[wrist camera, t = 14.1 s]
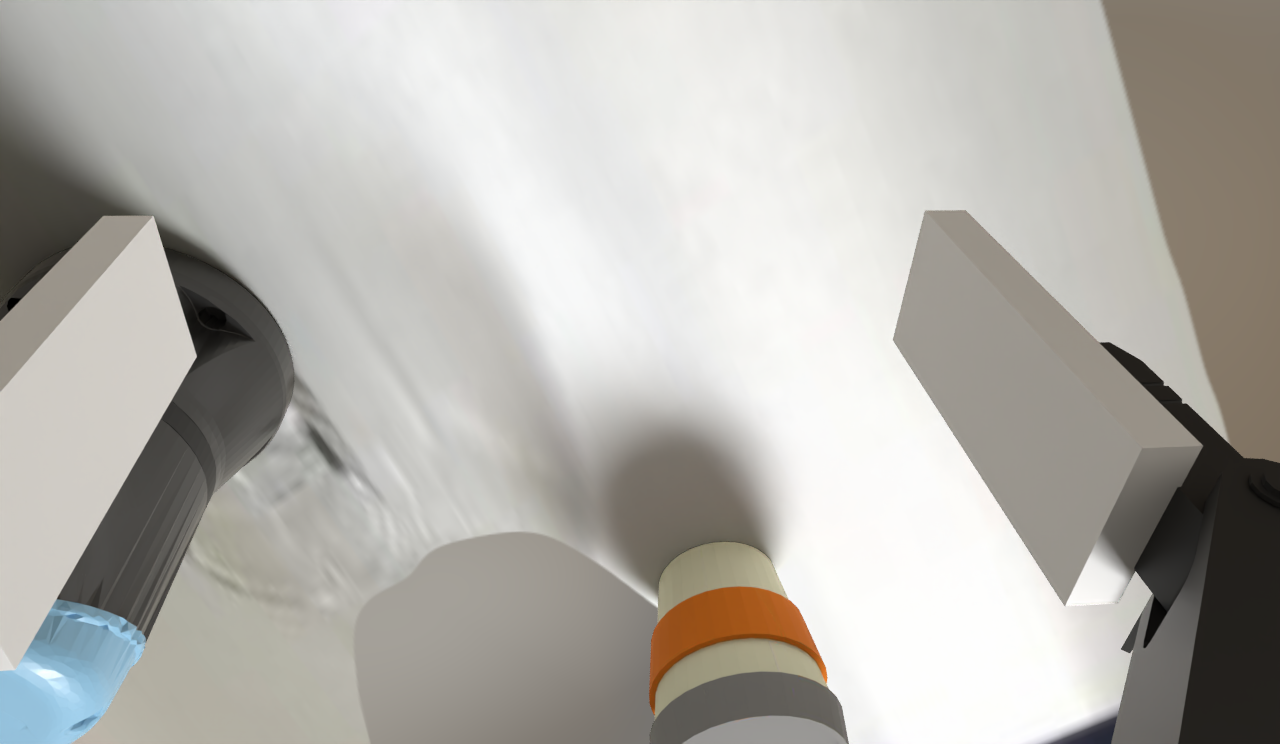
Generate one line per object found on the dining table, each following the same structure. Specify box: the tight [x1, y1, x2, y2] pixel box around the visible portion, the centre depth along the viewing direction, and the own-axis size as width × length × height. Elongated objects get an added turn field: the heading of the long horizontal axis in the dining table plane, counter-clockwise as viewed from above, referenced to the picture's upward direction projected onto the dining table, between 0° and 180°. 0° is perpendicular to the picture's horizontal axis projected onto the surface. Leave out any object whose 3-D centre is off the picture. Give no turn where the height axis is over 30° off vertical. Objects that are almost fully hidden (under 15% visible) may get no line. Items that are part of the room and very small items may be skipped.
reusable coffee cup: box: [649, 542, 849, 744], centre depth 58 cm, size 13×13×15 cm
